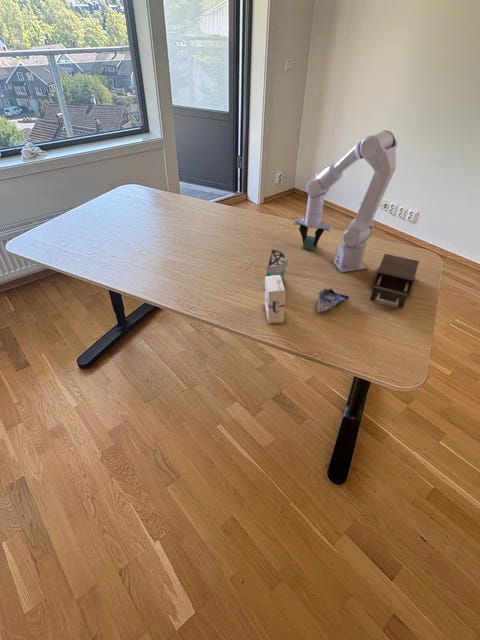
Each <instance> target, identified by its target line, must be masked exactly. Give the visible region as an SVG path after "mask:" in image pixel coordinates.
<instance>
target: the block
mask: <svg viewBox="0 0 480 640" xmlns="http://www.w3.org/2000/svg"><path fill="white" fill-rule="evenodd" d="M314 242H315V236H313V235H307V237H306V238H305V239H304V244H303V246H302V248H303V250H308V251H311V252H312V251H314V250H315V249H316V247H314Z"/></svg>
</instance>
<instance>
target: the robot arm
mask: <svg viewBox="0 0 480 640" xmlns="http://www.w3.org/2000/svg"><path fill="white" fill-rule="evenodd" d="M397 147H398V141H397V139H396V137H395V135H394V133H393V132H392V131H390V130H385V129H384V130H382V131H380V132H378V133H375V134H371V135H367V136H365V137H364V138H363V139H362V140H360V141H359V142H357V143H356V144H355V145H354V146H353V147H352V148H351V149H350V150H349V151H348V152H347V153H346V154H345V155H344V156H343V157H341V159H340V160H339V161H338V162H337V163H334V162H333V163H329V164H327V165H325V166H324V168H325V169H323V170H322V172H320V173H317V174H316V176H315V178H314V179H310V180H309V181H308V182H307V184H306V186H305V190H306V193H307V195H308V196H307V205H306V215H305V218H297V217H296V218H294V219H293V225H294V226H299V228H298V231H299V233H300V236H301V239H302V245H304V239H305V238H306V237H307V236H308V231H309V228H310V229H315V231H314V237H315V242H314V247H315V248H316V247H317V246H318V243H319V240H320V238H321V236H322V234H323V233H324V231H326V232H327V233H331V231H332V229H333V225H332V224H328V223H326V222H323V221H322V217H323V210H324V202H325V197H326V195H327V193H328V191H329V190H330V188H332V186H333V185H335V184H336V183H337V182H339V181H340V180H341V179H342V178H343V173H344V172H345V171H346V170H347V169H349V167H351V166H352V165H354V164H355V163H356V162H357V161H360V160H362V159H364V160H365V161H366V162H367V163H368V165H369V166H370V167H371V168H372V170H373V174H372V178H371V179H370V183H369V185H368V186H367V189H366V192H365V194H364V197H363V199H362V202H361V204H360V207H359V209H358V212H357V213H356V216H355V218H354V219H353V220H352V221H351V223H350V224H349V225H348V228H347V229H346V230H345V231H344V232H343V234H342V241H343V243H340V244H337V246H336V249H335V254H334V259H332V262H333V264H334V265H335V266H336V267H337V269H338V270H339V271H340V272H341V273H346V272H354V271H361V270H366V266H365V265H364V264H363V259H364V256H365V251H366V247H367V242H368V239H369V238H371V237H372V235H373V231H374V230H373V227H374V224H375V222H374V217H375V215H376V213H377V211H378V209H379V206H380V204H381V203H382V200H383V197H384V195H385V193H386V191H387V189H388V187H389V184H390V182H391V179H392V177H393V176H394V173H395V171H396V167H397V161H396V159H397V157H396V150H397Z"/></svg>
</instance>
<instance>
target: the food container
mask: <svg viewBox="0 0 480 640" xmlns="http://www.w3.org/2000/svg"><path fill="white" fill-rule="evenodd" d="M287 267H288V257H287V255H286V254H285V253H284V252H283V251H281V250H279V249H275V248H271V253H270V257H269V260H268V264H267V266H266V276H275V275H280V276H281V278H282V281H283V282H284V276H285V270H286V268H287Z"/></svg>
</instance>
